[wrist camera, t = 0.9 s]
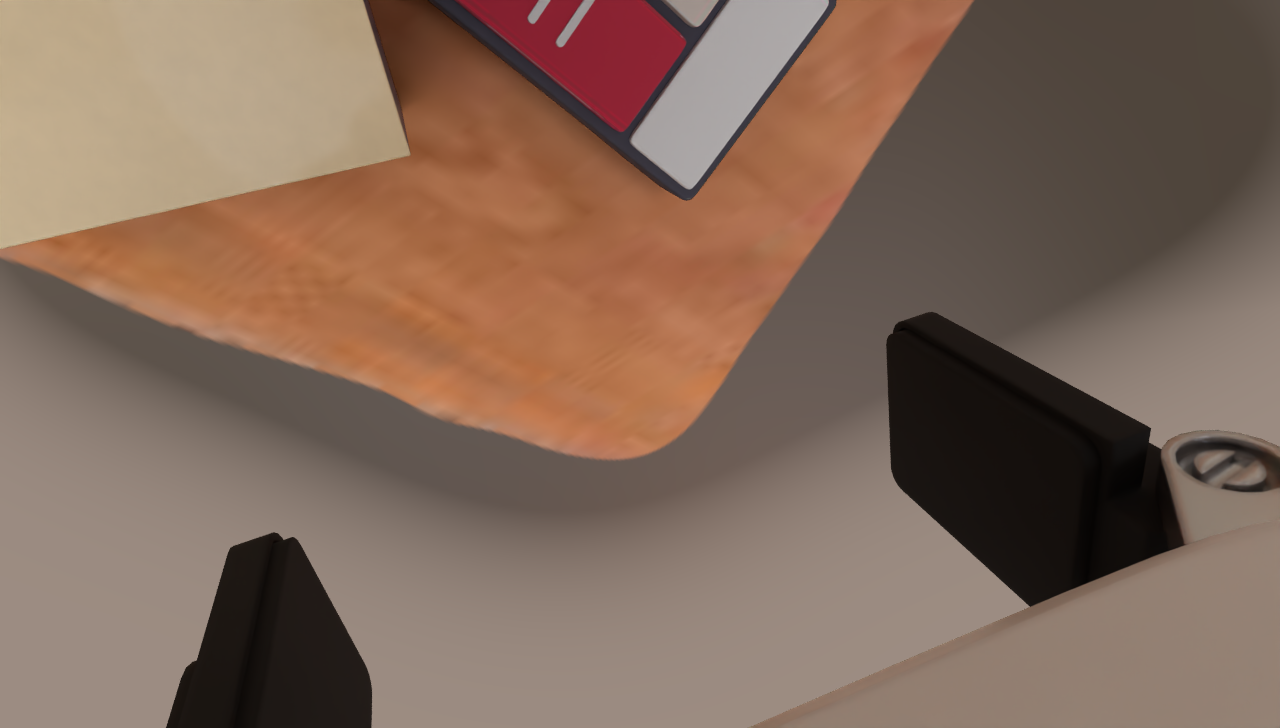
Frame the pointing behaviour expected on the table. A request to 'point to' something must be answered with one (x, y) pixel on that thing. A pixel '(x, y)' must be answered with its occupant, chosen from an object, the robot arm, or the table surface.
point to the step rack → (181, 105)
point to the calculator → (651, 68)
